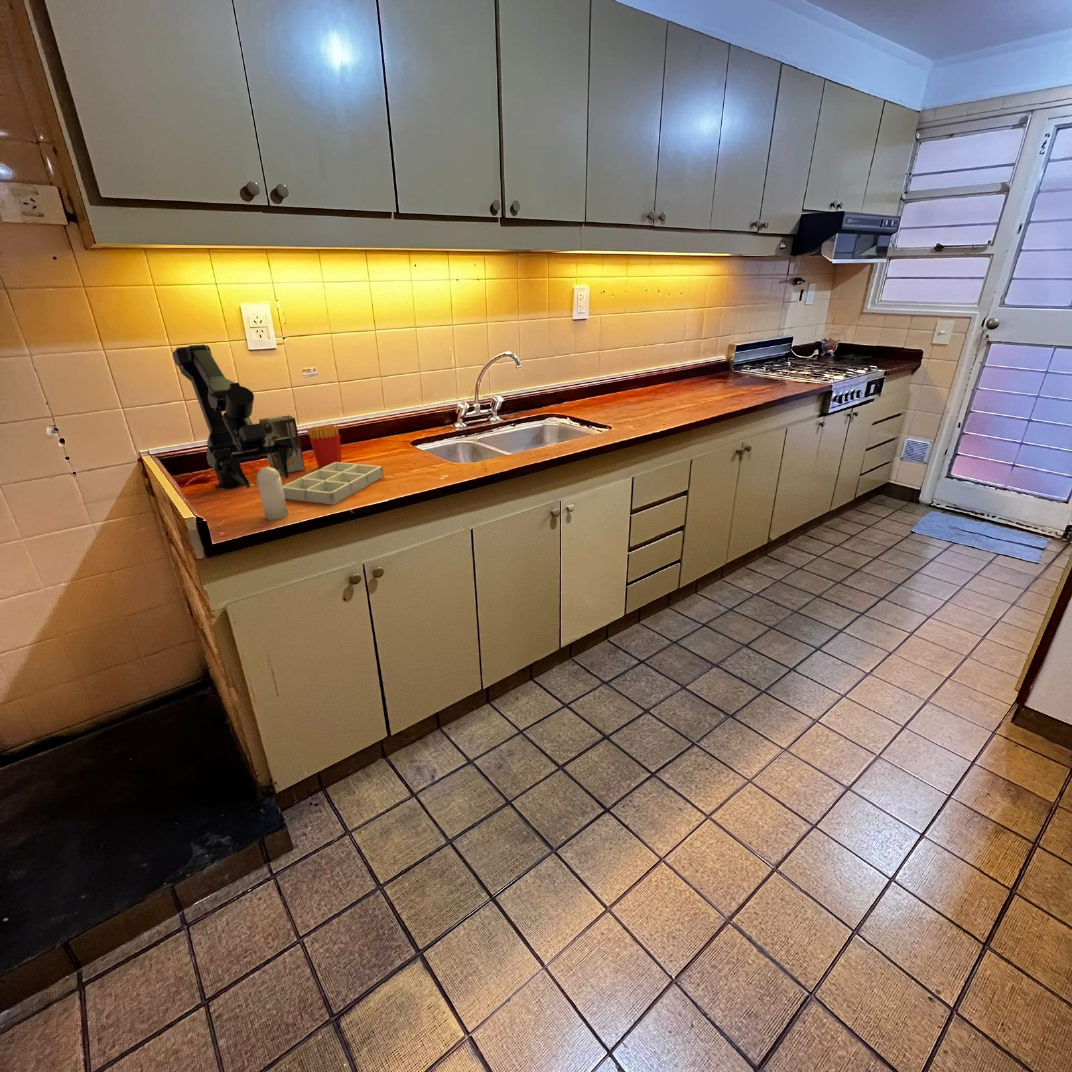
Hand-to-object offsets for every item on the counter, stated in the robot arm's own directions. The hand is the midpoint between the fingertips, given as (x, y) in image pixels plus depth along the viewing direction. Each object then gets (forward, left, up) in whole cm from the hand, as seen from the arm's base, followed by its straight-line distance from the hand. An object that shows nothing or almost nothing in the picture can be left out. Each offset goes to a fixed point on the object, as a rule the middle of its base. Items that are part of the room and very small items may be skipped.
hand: (268, 482), depth 137 cm
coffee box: (-23, +32, -9) cm, 40 cm away
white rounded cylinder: (+1, 0, -9) cm, 9 cm away
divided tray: (+1, +22, -9) cm, 24 cm away
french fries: (-13, +39, -9) cm, 42 cm away
